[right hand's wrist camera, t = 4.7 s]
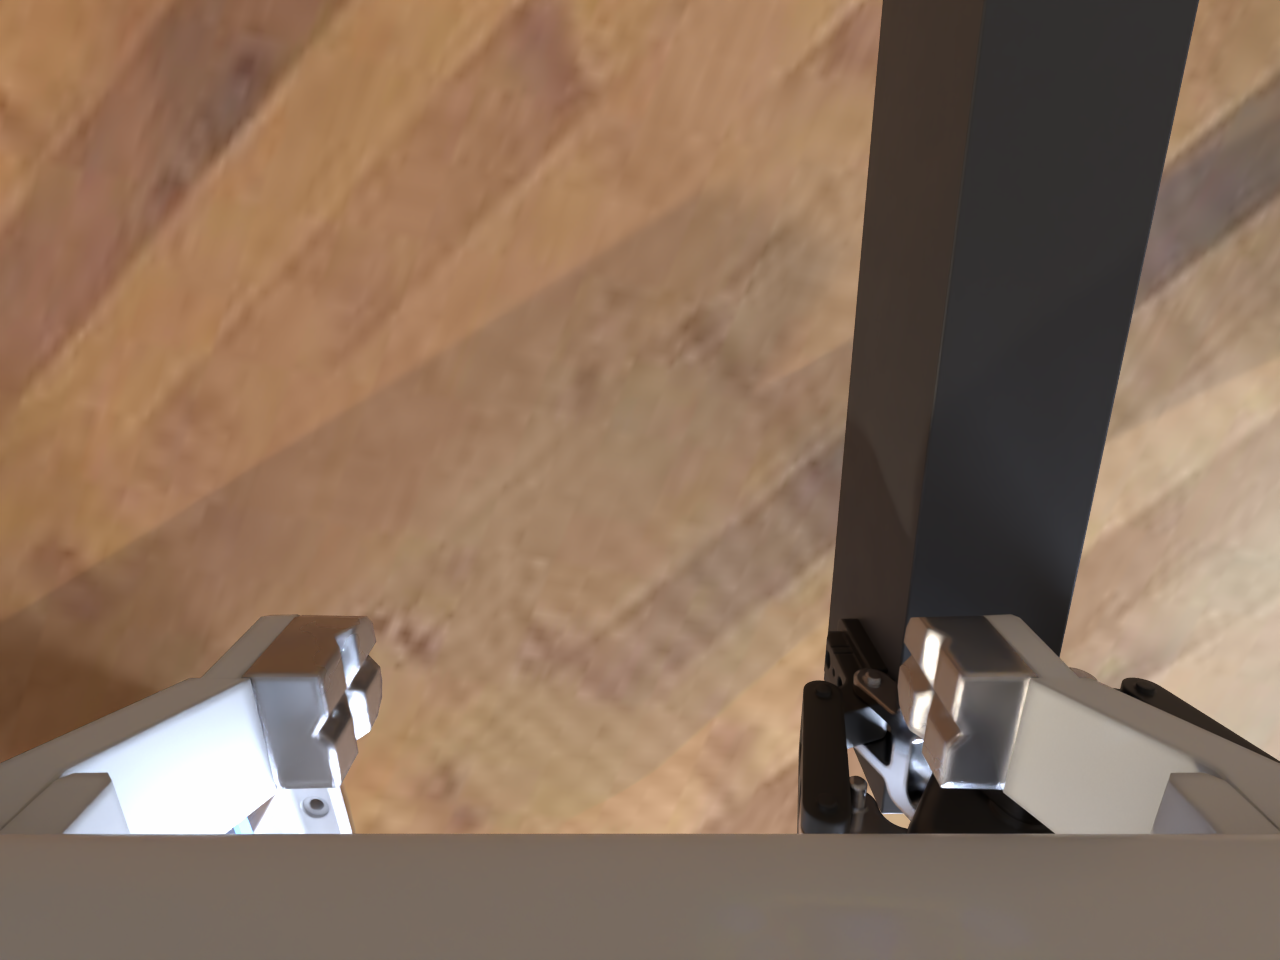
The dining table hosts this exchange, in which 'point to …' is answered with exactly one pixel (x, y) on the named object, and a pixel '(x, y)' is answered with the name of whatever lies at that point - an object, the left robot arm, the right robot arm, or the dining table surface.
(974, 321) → the bar
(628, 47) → the dining table surface
